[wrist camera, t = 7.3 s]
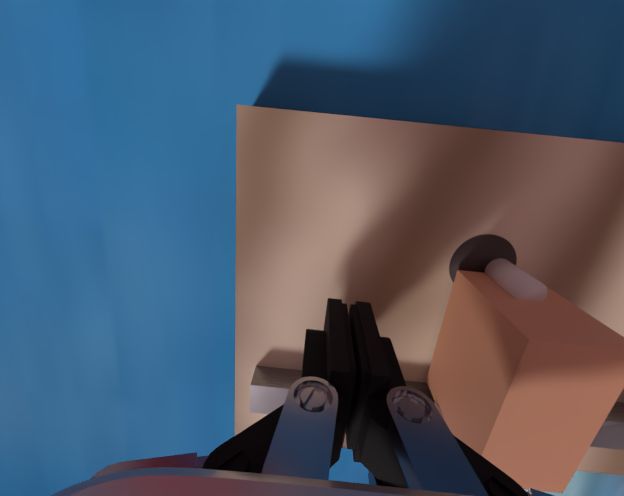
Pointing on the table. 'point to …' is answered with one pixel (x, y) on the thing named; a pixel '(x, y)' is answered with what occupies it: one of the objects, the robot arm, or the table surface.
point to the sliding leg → (524, 374)
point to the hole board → (411, 230)
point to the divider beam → (277, 381)
